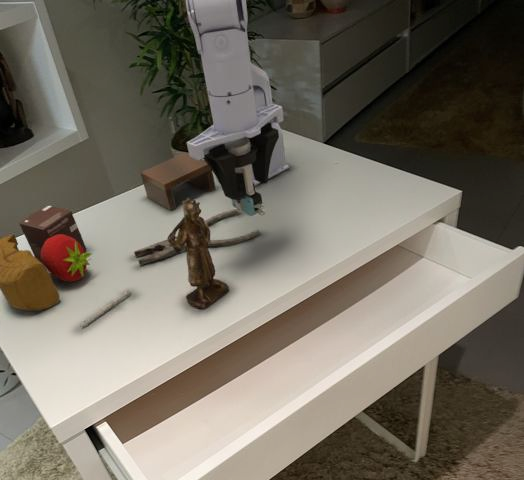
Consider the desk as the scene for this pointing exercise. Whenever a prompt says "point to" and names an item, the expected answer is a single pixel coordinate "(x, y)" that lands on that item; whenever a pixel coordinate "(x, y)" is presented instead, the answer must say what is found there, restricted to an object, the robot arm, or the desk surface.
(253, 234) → the pliers
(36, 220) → the box
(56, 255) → the strawberry
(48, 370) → the desk surface
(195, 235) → the figurine
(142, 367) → the desk surface
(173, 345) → the desk surface
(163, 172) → the brown wooden bridge block
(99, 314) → the wall anchor
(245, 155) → the push button
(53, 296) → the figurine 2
